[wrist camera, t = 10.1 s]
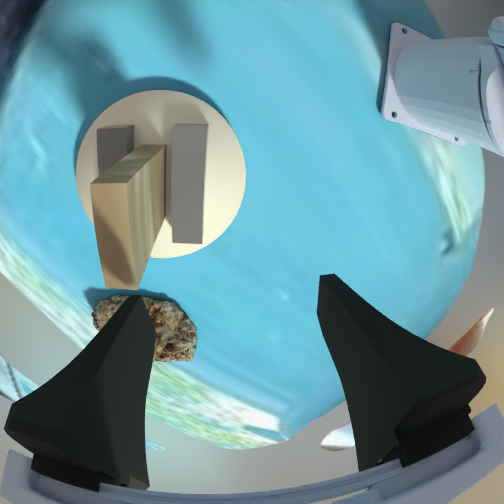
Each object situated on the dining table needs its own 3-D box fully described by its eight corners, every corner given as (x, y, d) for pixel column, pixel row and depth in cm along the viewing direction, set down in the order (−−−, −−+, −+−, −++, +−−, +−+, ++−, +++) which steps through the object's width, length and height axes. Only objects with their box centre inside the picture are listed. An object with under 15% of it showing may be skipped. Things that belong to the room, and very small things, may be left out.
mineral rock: (214, 326, 23) (183, 389, 25) (211, 303, 28) (184, 363, 29) (94, 279, 20) (79, 351, 22) (109, 262, 24) (92, 328, 26)
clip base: (253, 93, 16) (257, 92, 14) (237, 254, 22) (238, 273, 20) (79, 97, 15) (61, 99, 12) (92, 247, 21) (80, 264, 19)
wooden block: (166, 144, 16) (126, 183, 10) (165, 216, 19) (137, 290, 12) (142, 144, 16) (89, 183, 9) (143, 215, 19) (105, 287, 12)
